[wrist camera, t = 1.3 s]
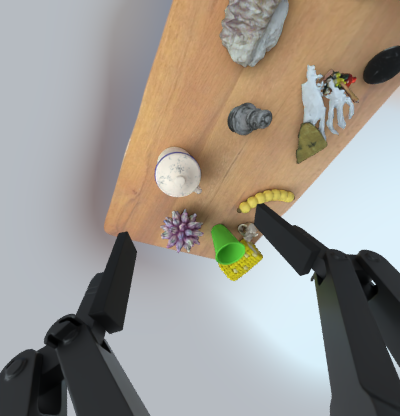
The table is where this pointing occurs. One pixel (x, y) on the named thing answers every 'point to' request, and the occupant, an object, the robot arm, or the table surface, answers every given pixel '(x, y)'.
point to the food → (243, 262)
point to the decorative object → (316, 106)
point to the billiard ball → (383, 66)
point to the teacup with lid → (177, 173)
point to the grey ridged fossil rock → (252, 28)
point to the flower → (181, 230)
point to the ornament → (248, 231)
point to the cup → (226, 246)
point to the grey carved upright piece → (248, 119)
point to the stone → (309, 142)
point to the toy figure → (340, 83)
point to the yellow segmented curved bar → (265, 199)
